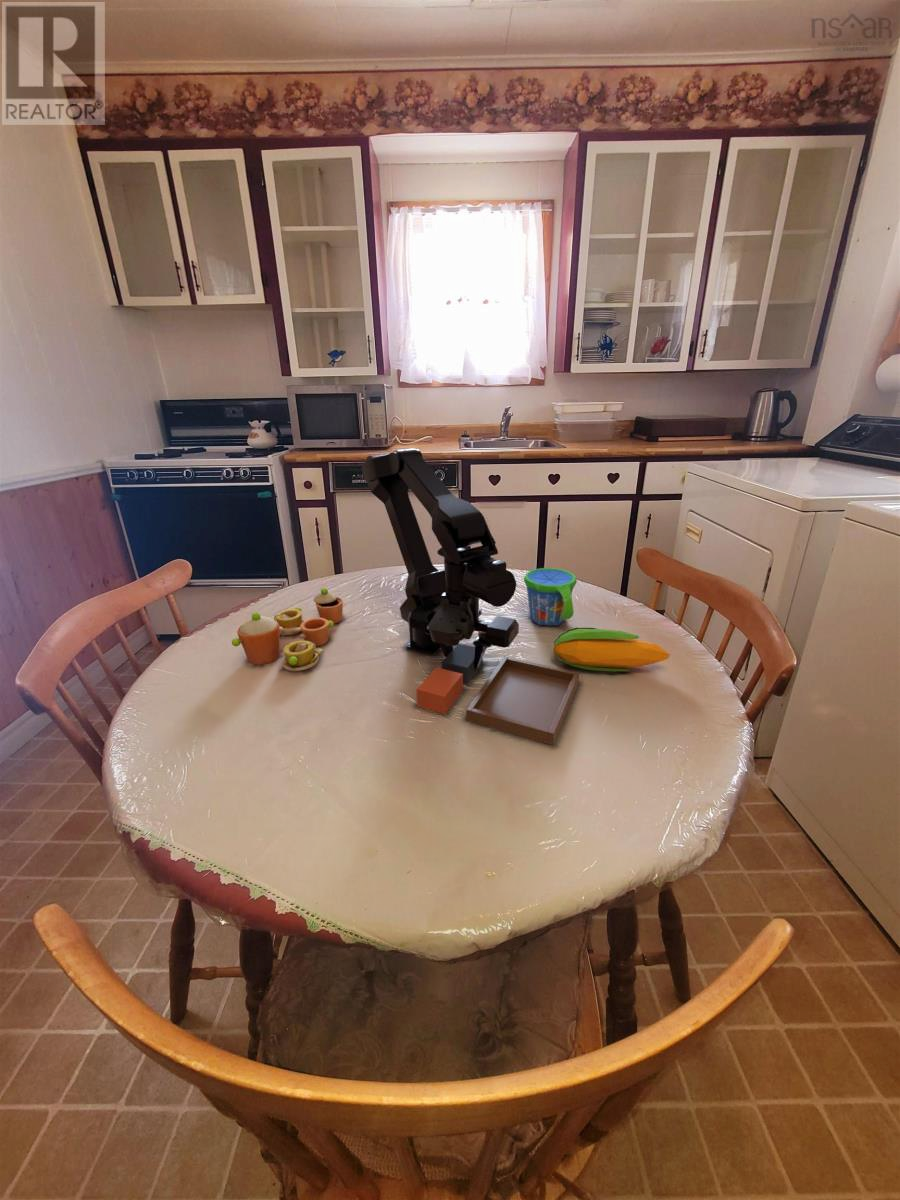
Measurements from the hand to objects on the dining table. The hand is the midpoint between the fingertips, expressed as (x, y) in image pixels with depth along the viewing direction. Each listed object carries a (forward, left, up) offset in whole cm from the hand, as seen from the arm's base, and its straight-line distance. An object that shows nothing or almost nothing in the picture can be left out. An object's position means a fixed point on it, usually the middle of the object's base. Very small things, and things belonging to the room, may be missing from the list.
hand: (462, 665), depth 87 cm
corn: (+24, +12, -1) cm, 26 cm away
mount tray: (+13, -4, -1) cm, 14 cm away
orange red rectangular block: (0, -9, -1) cm, 9 cm away
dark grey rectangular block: (0, 0, -1) cm, 1 cm away
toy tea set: (-35, -3, -1) cm, 36 cm away
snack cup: (+9, +26, -1) cm, 27 cm away
